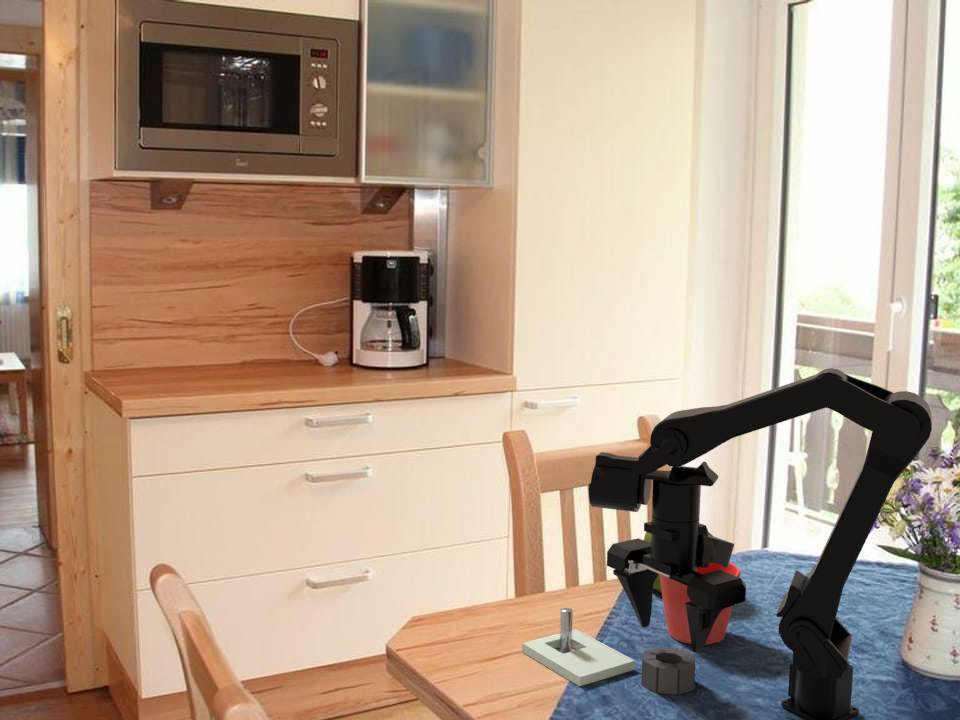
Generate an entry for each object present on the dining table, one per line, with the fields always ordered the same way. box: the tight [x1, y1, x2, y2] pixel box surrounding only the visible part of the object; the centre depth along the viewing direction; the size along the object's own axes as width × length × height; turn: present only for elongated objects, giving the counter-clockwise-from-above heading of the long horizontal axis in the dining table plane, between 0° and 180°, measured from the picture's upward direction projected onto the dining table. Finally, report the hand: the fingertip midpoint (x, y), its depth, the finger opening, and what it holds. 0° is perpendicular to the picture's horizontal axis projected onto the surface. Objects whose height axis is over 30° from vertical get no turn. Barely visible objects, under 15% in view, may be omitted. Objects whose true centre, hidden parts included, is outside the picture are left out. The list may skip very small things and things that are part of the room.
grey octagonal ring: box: [640, 646, 696, 696], centre depth 131 cm, size 6×6×3 cm
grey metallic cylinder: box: [558, 607, 574, 654], centre depth 139 cm, size 2×2×6 cm
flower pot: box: [660, 561, 741, 646], centre depth 146 cm, size 11×11×10 cm
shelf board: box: [521, 628, 636, 687], centre depth 138 cm, size 12×9×1 cm
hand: (670, 638), depth 131 cm, fingers open, 9 cm apart
